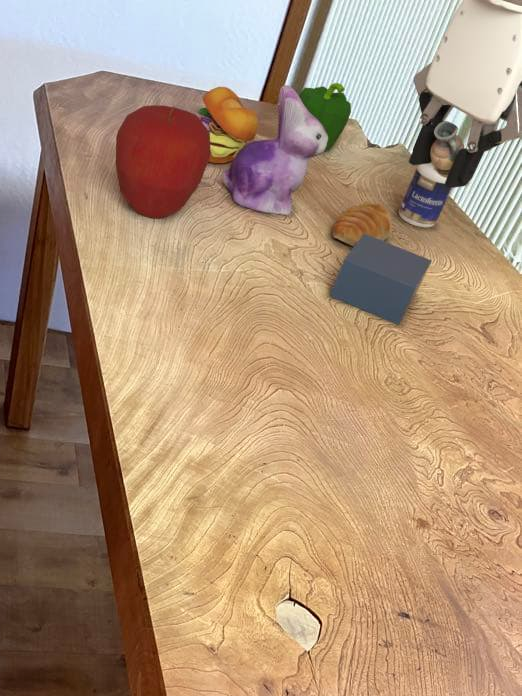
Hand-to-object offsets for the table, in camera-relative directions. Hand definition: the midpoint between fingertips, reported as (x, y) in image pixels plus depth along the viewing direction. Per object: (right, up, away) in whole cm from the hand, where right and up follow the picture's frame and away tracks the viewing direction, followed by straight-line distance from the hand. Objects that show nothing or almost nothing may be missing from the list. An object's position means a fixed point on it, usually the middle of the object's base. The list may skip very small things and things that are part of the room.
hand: (437, 172), depth 97 cm
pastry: (-2, +2, +26) cm, 26 cm away
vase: (0, -1, +1) cm, 1 cm away
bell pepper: (-3, +24, +48) cm, 53 cm away
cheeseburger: (-21, +18, +37) cm, 46 cm away
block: (-3, -9, +14) cm, 18 cm away
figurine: (-15, +8, +29) cm, 33 cm away
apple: (-31, +3, +20) cm, 37 cm away
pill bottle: (+9, +7, +34) cm, 36 cm away
